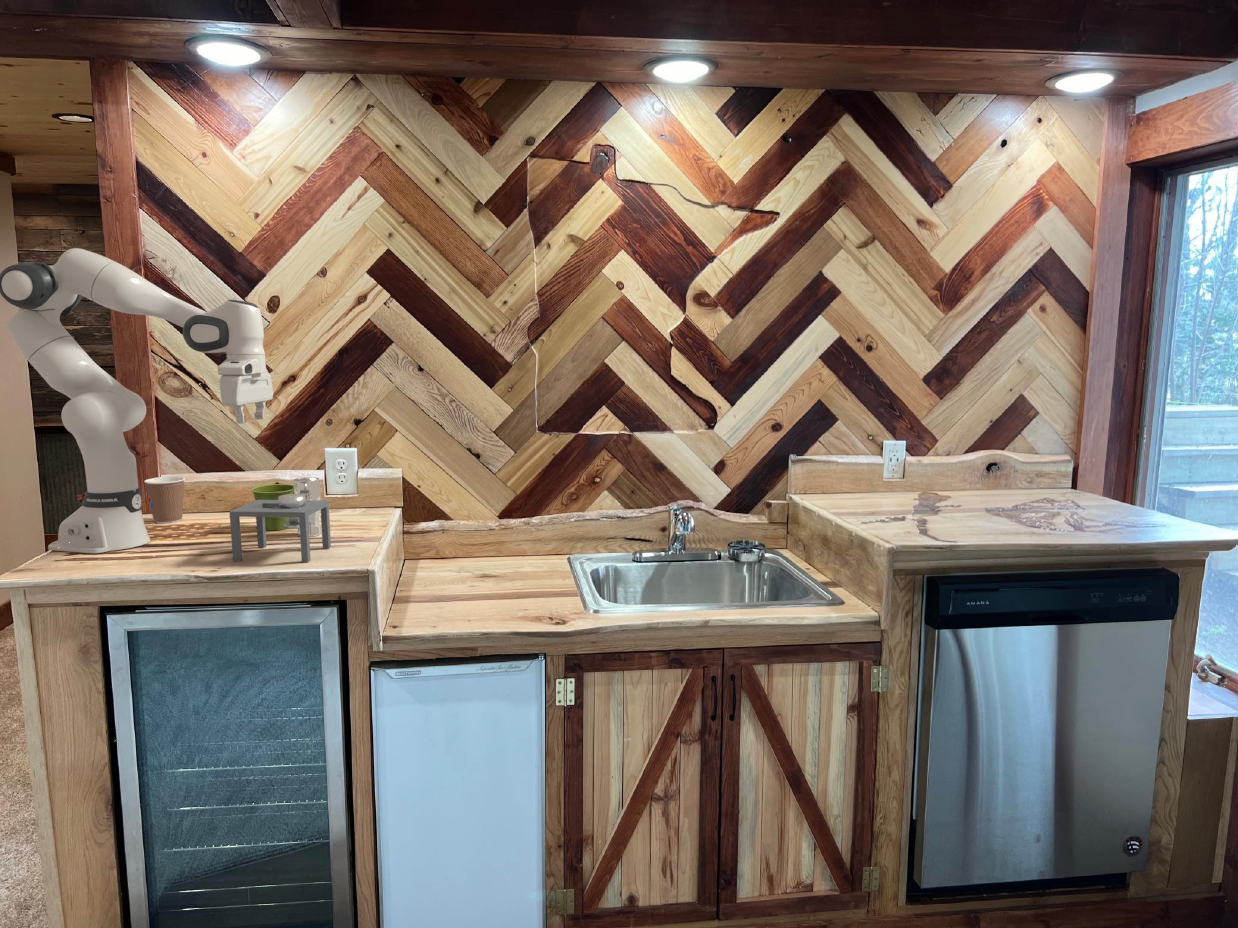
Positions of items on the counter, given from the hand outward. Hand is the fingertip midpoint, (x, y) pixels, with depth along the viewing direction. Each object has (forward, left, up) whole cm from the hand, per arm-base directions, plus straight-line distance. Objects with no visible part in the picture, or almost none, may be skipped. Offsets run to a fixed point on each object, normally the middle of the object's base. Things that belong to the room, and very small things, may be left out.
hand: (250, 421), depth 213 cm
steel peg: (+15, -12, -24) cm, 31 cm away
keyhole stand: (+12, -12, -31) cm, 35 cm away
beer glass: (+10, +8, -31) cm, 34 cm away
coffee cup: (-37, +22, -31) cm, 53 cm away
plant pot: (-2, +15, -31) cm, 35 cm away
